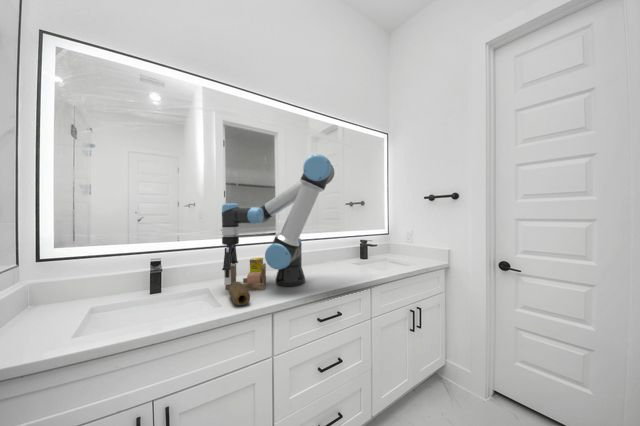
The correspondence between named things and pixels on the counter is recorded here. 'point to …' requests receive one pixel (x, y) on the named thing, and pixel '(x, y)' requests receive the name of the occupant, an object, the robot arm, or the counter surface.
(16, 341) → the counter surface
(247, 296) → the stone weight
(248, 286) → the wooden stand
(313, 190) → the robot arm
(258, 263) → the supplement box
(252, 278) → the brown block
